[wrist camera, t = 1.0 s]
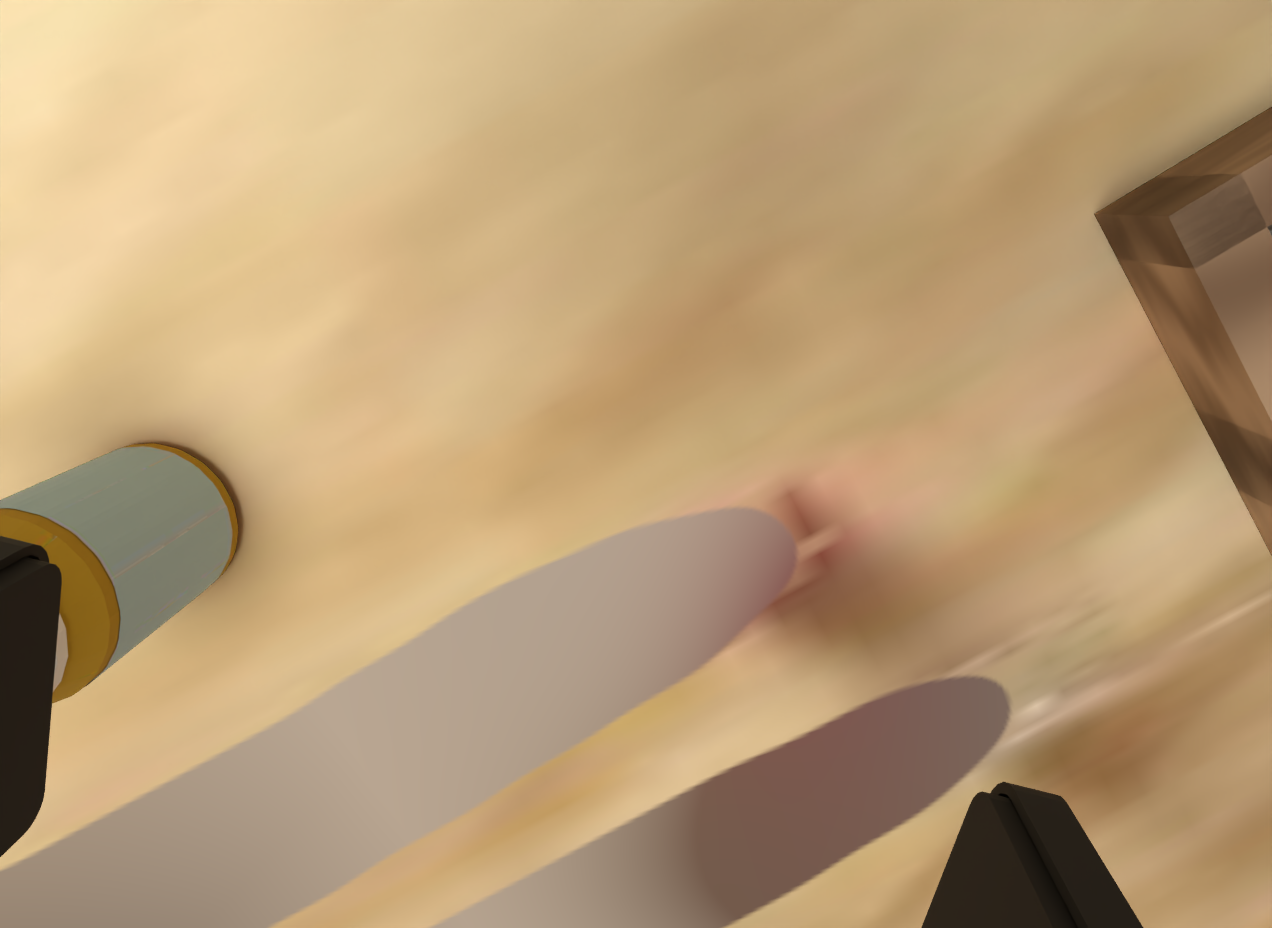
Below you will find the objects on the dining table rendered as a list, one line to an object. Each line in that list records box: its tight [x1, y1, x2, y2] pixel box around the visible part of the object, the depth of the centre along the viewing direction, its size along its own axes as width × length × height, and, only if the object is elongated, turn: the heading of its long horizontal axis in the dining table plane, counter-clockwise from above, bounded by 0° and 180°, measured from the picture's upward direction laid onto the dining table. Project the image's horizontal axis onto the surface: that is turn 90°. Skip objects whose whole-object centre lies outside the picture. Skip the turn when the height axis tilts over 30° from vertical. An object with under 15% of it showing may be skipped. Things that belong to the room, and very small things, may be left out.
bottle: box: [0, 443, 238, 703], centre depth 36 cm, size 7×7×15 cm
